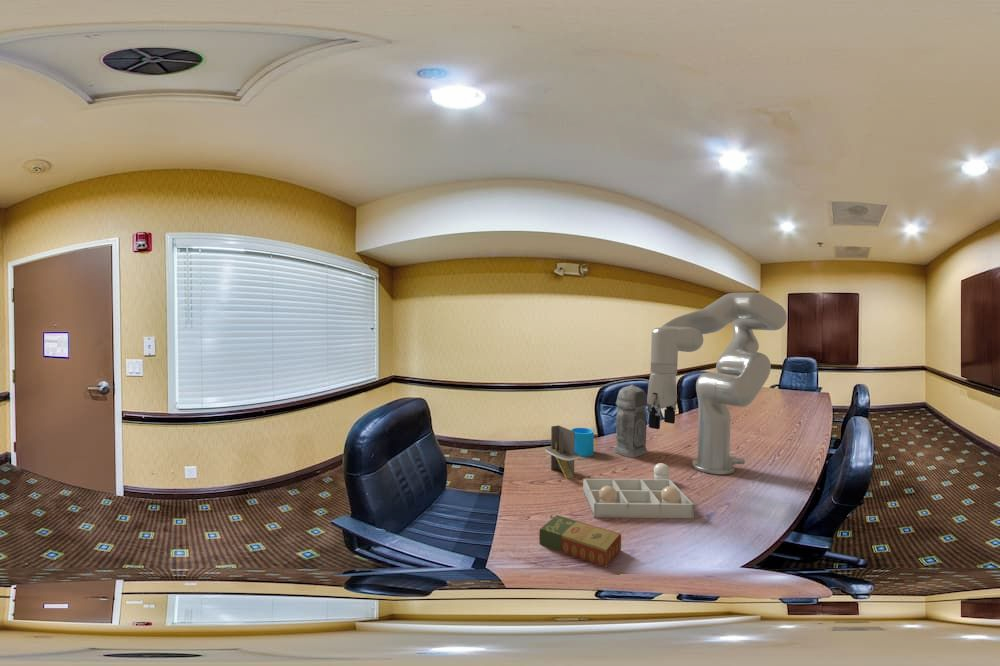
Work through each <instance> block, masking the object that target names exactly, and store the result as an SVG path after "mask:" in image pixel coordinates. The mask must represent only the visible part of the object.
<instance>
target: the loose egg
mask: <svg viewBox="0 0 1000 666" xmlns="http://www.w3.org/2000/svg"><path fill="white" fill-rule="evenodd" d="M653 479H670V468H669V466H668V464H666V463H662V462H658V463H656V464H655V465H654V466H653Z"/></svg>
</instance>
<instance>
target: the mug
mask: <svg viewBox="0 0 1000 666" xmlns="http://www.w3.org/2000/svg"><path fill="white" fill-rule="evenodd" d="M570 430H571V431H574V432H575V453H577V454H579V455H580V457H592V456H593V455H594V448H595V447H594V445H595V444H594V443H595V442H594V441H595V440H594V438H595V437H594V436H595V434H594V433H595V431H594V430H593V428H592V429H591V428H588V427H574V428H571V429H570Z"/></svg>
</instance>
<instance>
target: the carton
mask: <svg viewBox="0 0 1000 666" xmlns="http://www.w3.org/2000/svg"><path fill="white" fill-rule="evenodd" d="M538 535H539V537H538V538H539V540H538V541H539V542H538V543H539V545H540V546H544V547H546V548H549V549H552V550H555V551H557V552H558V551H559V552H561V553H564V554H567V555H568V556H569V555H570V556H572V557H576V558H578V559H581V560H584V561H586V562H587V561H588V562H590V563H592V564H595V565H599V566H602V567H604V566H607V565H608V564H609V565H611V563H612V562H613V561H614V559H615V558H616V557H617V556H618V555H619V553H620V552H621V551H622V534H621V533H619V532H617V531H616V532H615V531H612V530H608V529H606V528H603V527H599V526H596V525H592V524H588V523H585V522H582V521H579V520H576V519H572V518H568V517H564V516H561V515H559V514H557V515H556V514H555V516H553V518H551V519H550V520H549V521H548V522H547V523H545V524H544V525H542V526H541V527H540V528H539V534H538ZM609 565H608V566H609ZM608 566H607V567H608Z"/></svg>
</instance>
